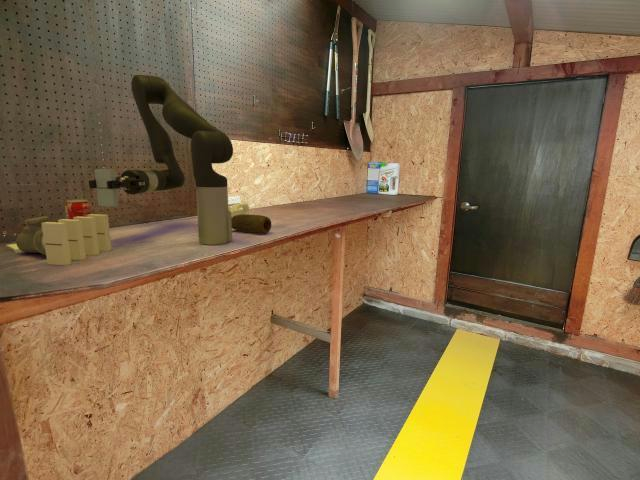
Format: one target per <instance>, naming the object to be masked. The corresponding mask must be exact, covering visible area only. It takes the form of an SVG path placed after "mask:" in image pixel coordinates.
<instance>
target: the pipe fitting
mask: <svg viewBox="0 0 640 480" xmlns="http://www.w3.org/2000/svg"><path fill="white" fill-rule="evenodd" d="M50 220H51V219H50V217H49V215H47V216H46V215H43V216H38V217H34V218H33V217H32V218H28V219H26V220H24V224H25V225H26V226H25V227H23V228H22V232H21V233H19V234H18V236H17V237H16V241H15V244H17V247H18V248H19V249H20V250H21V251H23V252H22V253H25V254H38V253H40V255H43V256H46V251H45V244H44V237H43V231H42V224H41V223H44V222H50Z"/></svg>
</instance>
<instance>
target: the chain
mask: <svg viewBox="0 0 640 480" xmlns="http://www.w3.org/2000/svg"><path fill="white" fill-rule="evenodd" d="M228 211H231V218H232V217H233V216H236V215H241V214H248V215H250V207H249V205H248V203H245V202H244V203H243V202H241V203H235V204H233V206H231V207H230V206H229V205H228Z"/></svg>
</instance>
